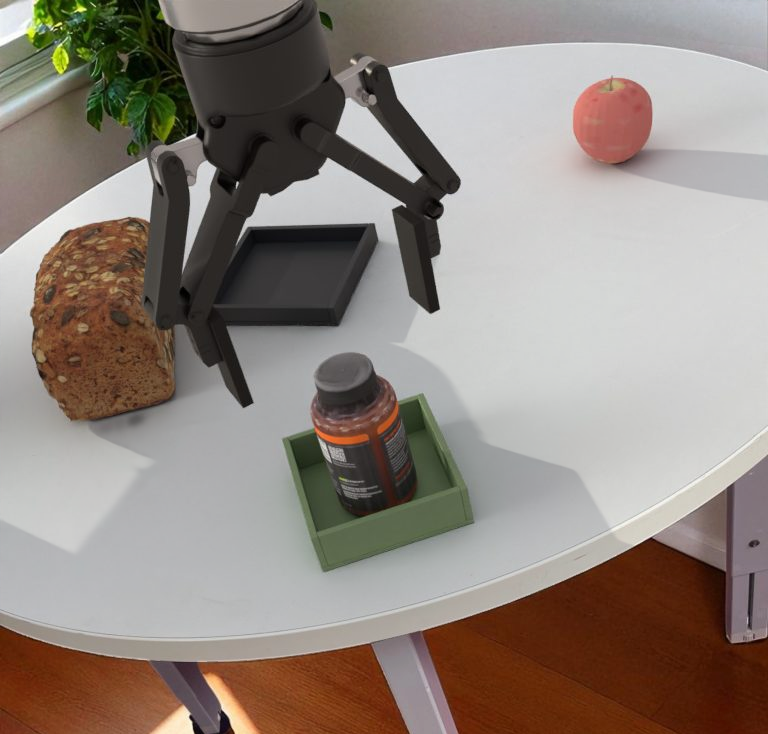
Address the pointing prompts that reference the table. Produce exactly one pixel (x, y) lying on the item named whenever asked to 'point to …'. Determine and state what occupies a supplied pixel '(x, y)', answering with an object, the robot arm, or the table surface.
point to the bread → (99, 323)
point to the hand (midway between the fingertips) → (334, 348)
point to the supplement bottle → (362, 435)
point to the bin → (391, 526)
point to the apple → (613, 119)
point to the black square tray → (294, 274)
